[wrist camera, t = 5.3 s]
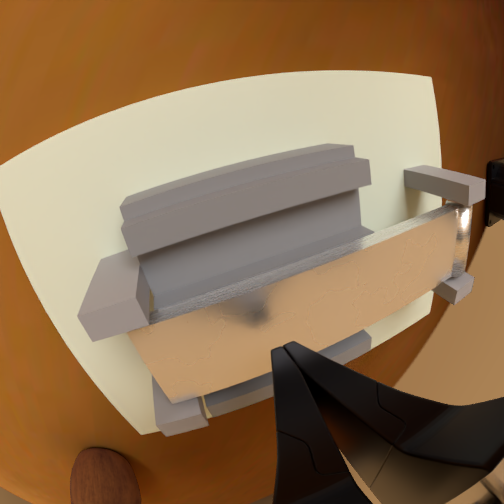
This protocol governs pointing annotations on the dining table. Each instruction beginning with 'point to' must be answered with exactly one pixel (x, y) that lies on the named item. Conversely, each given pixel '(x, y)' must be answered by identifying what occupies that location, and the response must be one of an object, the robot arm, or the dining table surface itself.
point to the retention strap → (301, 304)
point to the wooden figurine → (103, 479)
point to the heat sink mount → (220, 211)
